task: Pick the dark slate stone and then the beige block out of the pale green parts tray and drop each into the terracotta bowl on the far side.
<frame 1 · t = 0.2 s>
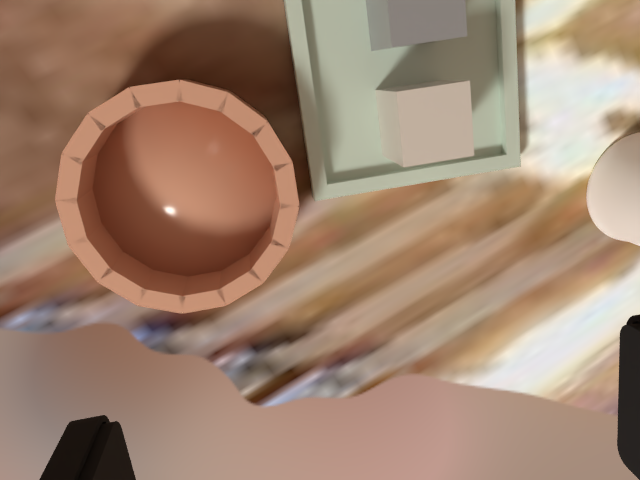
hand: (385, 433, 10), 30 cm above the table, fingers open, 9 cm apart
parts tray: (403, 66, 38), on the table
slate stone: (400, 10, 37), resting on parts tray
bowl: (187, 189, 39), on the table
mug: (629, 206, 44), on the table
beige block: (410, 118, 39), resting on parts tray
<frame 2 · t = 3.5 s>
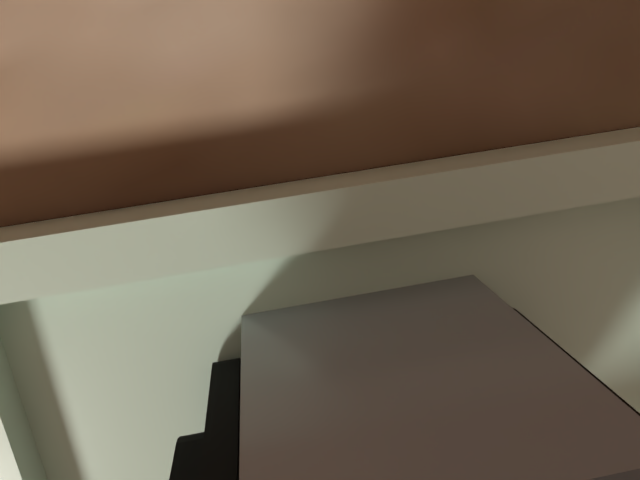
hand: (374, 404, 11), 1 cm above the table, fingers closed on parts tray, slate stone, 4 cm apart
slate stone: (371, 397, 11), point 1 cm above the table, touching gripper, parts tray
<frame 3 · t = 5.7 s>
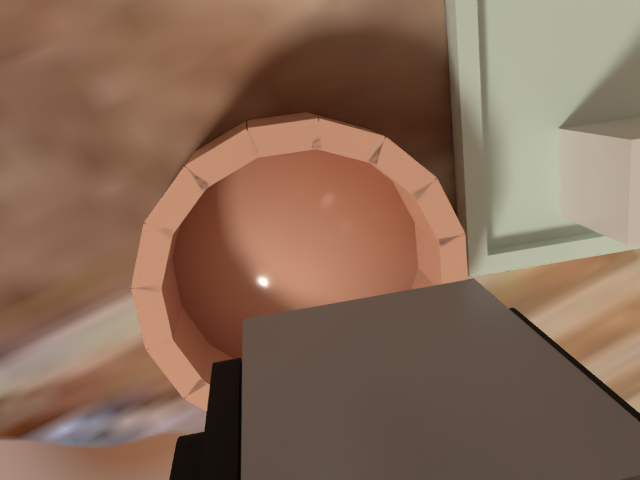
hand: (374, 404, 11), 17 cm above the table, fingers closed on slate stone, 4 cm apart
parts tray: (595, 96, 28), on the table
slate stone: (372, 400, 11), point 17 cm above the table, touching gripper
bowl: (297, 259, 28), on the table
beige block: (599, 166, 29), resting on parts tray
when the fingers open (5 cm above the table, at t = 7.9 s): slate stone drops 4 cm, resting on bowl.
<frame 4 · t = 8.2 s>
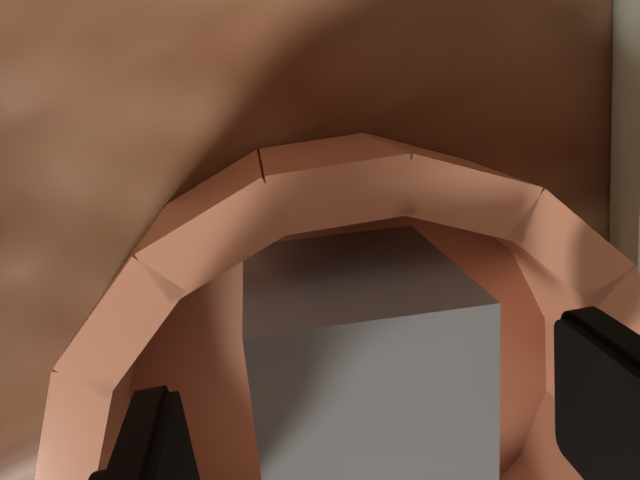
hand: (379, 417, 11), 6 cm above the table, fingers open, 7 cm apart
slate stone: (334, 313, 15), point 1 cm above the table, touching bowl
bowl: (343, 378, 17), on the table
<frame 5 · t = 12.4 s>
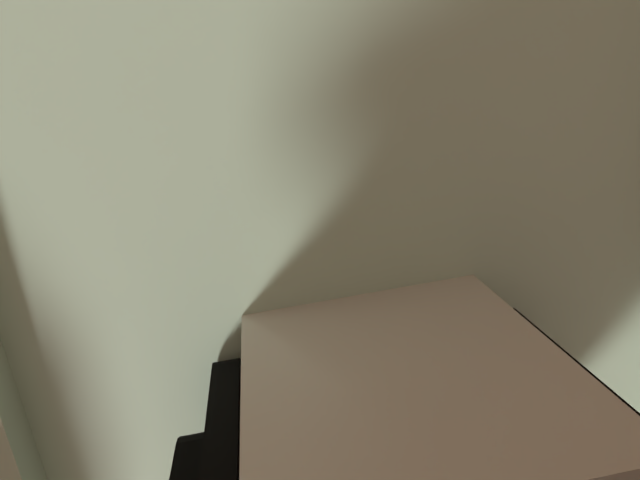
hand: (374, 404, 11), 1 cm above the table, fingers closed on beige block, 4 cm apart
parts tray: (347, 225, 11), on the table
beige block: (372, 397, 11), resting on parts tray, touching gripper
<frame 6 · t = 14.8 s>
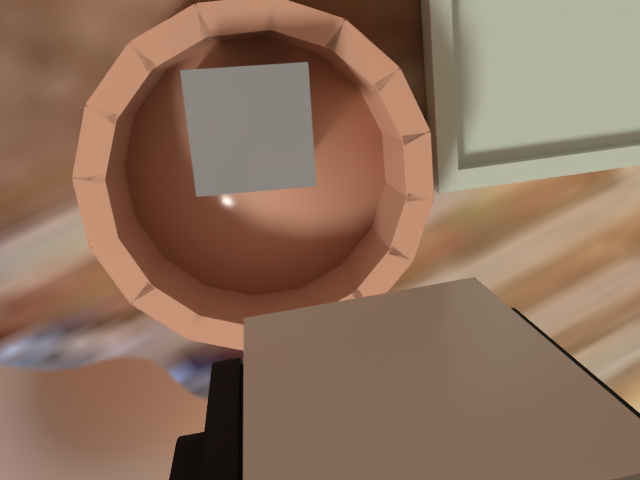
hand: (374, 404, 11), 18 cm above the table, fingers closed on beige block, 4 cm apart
parts tray: (573, 4, 27), on the table
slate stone: (249, 120, 26), point 1 cm above the table, touching bowl
bowl: (259, 171, 27), on the table
beige block: (373, 399, 11), point 17 cm above the table, touching gripper
when the fingers open (5 cm above the table, at t = 17.2 s): beige block drops 4 cm, resting on bowl.
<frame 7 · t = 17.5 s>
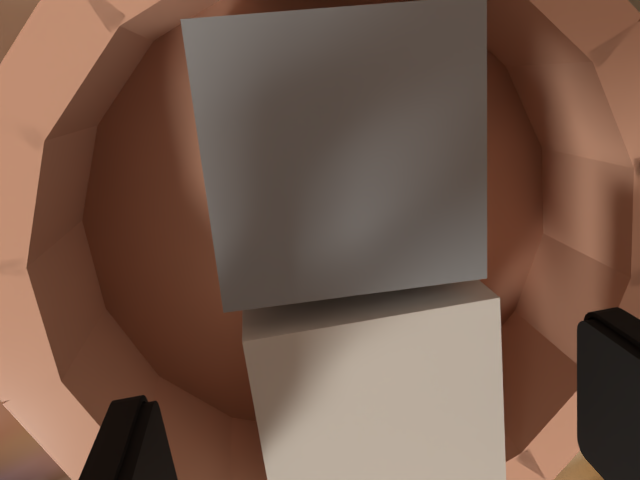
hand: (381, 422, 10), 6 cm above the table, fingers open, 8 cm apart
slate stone: (309, 131, 14), point 1 cm above the table, touching bowl
bowl: (322, 219, 15), on the table
beige block: (337, 312, 15), point 1 cm above the table, touching bowl
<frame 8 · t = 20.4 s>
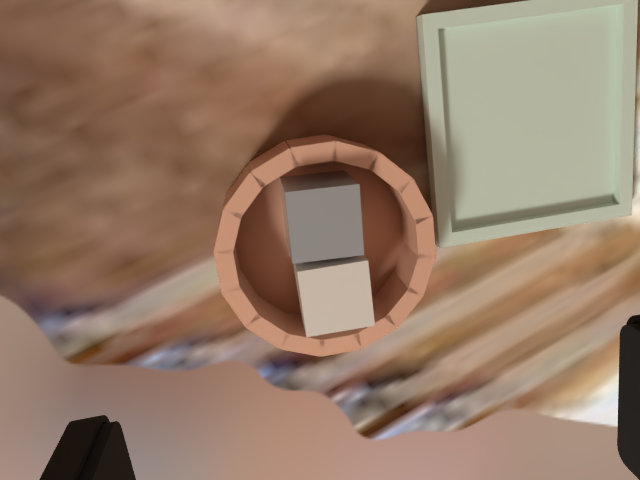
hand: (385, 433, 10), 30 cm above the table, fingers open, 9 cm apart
parts tray: (525, 121, 40), on the table
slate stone: (314, 205, 39), point 1 cm above the table, touching bowl
bowl: (319, 236, 41), on the table
beige block: (325, 271, 41), point 1 cm above the table, touching bowl
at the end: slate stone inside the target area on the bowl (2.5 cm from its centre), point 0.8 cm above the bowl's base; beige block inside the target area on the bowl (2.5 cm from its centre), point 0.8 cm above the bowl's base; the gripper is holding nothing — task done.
